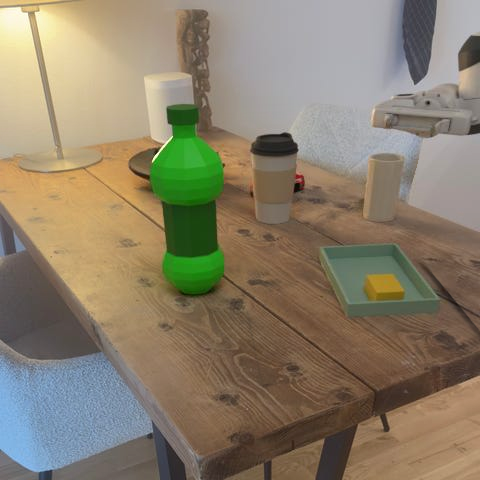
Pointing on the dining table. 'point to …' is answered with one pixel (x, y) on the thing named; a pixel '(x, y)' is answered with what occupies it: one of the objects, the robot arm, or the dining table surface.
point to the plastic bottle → (189, 203)
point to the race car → (298, 184)
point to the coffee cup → (273, 176)
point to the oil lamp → (144, 162)
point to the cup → (382, 187)
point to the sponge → (383, 288)
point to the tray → (373, 263)
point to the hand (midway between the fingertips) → (409, 126)
